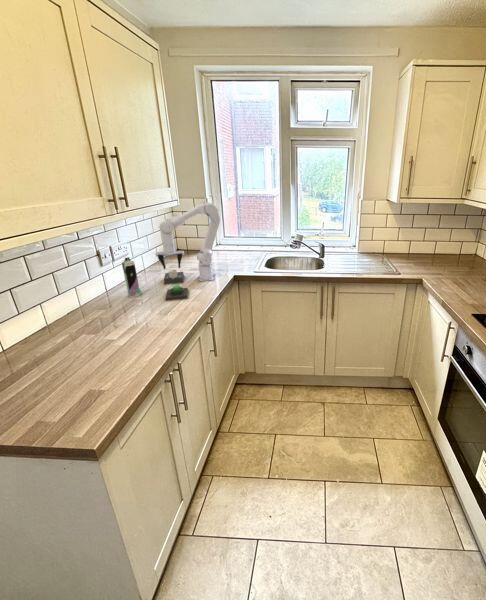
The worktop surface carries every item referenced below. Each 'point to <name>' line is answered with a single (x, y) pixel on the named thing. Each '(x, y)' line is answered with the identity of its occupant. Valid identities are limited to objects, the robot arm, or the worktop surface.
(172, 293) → the housing
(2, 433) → the worktop surface
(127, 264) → the spray can
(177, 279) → the control panel
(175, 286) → the button
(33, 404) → the worktop surface
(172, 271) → the dial
